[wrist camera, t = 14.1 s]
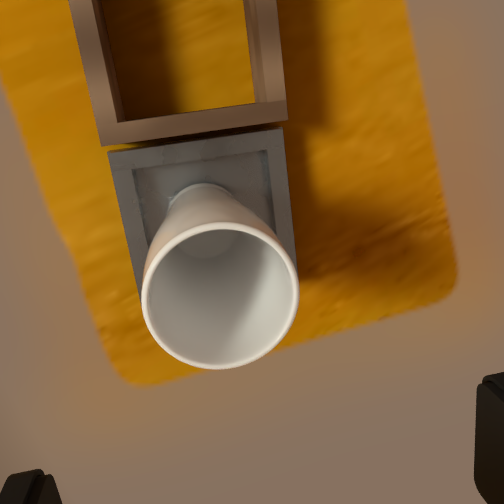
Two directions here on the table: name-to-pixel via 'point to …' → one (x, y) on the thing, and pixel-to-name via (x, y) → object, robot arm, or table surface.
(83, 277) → the table surface
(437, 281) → the table surface
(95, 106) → the frame
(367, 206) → the table surface
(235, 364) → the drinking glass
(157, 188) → the metal cradle
